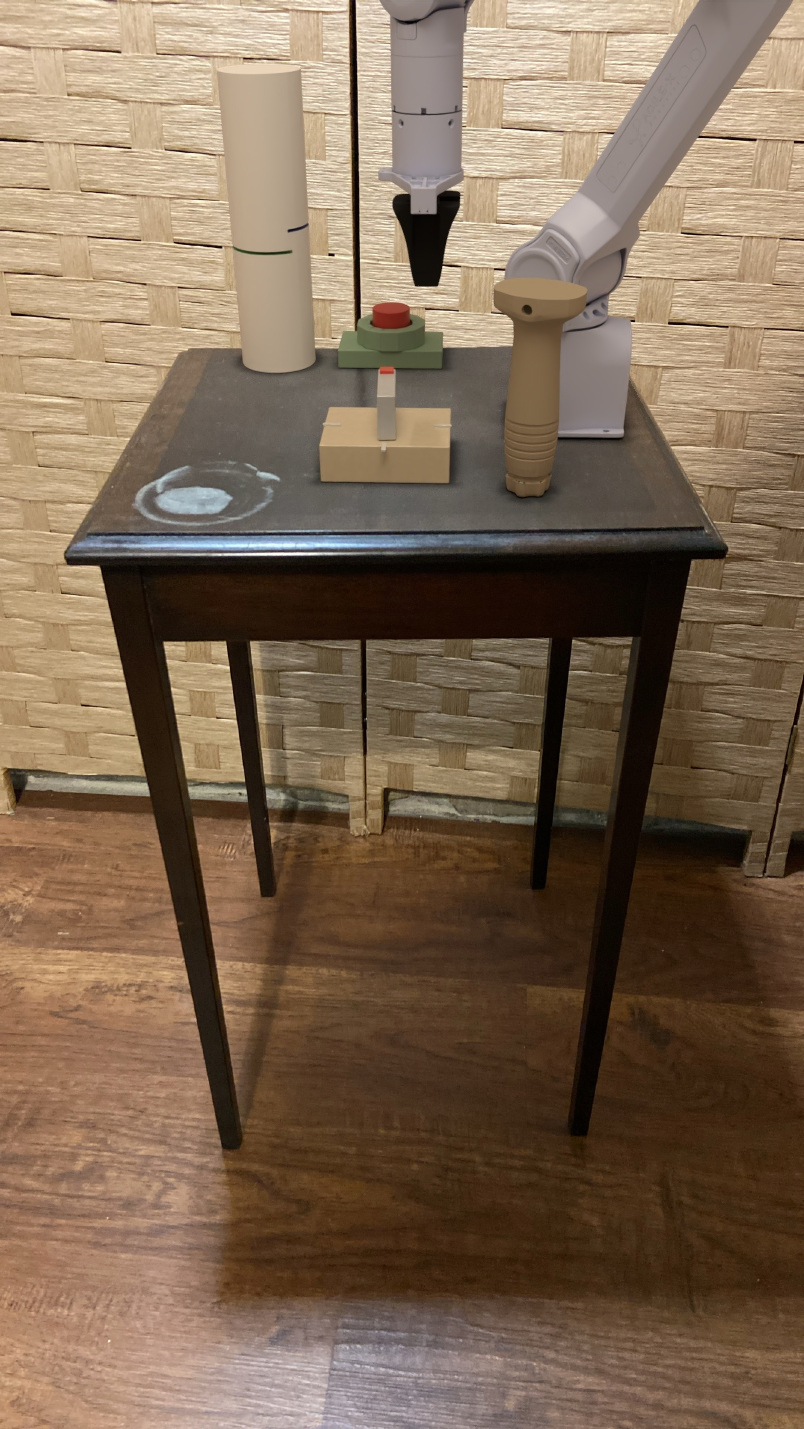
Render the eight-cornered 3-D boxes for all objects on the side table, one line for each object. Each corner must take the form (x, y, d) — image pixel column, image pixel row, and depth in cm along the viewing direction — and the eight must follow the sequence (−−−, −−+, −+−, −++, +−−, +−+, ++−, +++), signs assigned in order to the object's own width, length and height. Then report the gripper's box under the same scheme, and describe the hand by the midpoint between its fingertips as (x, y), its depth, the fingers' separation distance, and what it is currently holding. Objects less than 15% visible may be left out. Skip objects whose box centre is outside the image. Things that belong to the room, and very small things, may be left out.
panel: (451, 437, 95) (452, 401, 93) (450, 489, 86) (451, 450, 85) (330, 436, 95) (329, 399, 93) (318, 487, 87) (315, 449, 85)
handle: (556, 510, 83) (573, 303, 74) (476, 494, 86) (483, 291, 77) (577, 485, 87) (596, 284, 78) (500, 470, 89) (509, 274, 80)
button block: (442, 347, 113) (443, 312, 111) (441, 369, 108) (442, 332, 106) (343, 346, 114) (342, 311, 112) (338, 368, 108) (336, 332, 106)
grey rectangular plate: (395, 440, 86) (395, 392, 84) (377, 440, 86) (376, 392, 84) (396, 411, 91) (395, 365, 89) (378, 411, 91) (378, 365, 89)
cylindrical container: (330, 359, 111) (318, 67, 96) (275, 378, 106) (254, 76, 92) (282, 343, 115) (263, 61, 100) (227, 360, 110) (199, 68, 96)
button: (410, 320, 110) (410, 302, 109) (409, 331, 108) (409, 313, 106) (373, 320, 111) (373, 301, 110) (371, 331, 108) (371, 313, 107)
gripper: (383, 96, 96) (386, 262, 104) (370, 124, 85) (375, 308, 93) (465, 96, 96) (462, 262, 104) (464, 124, 84) (460, 309, 92)
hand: (426, 284), depth 98 cm, fingers closed
